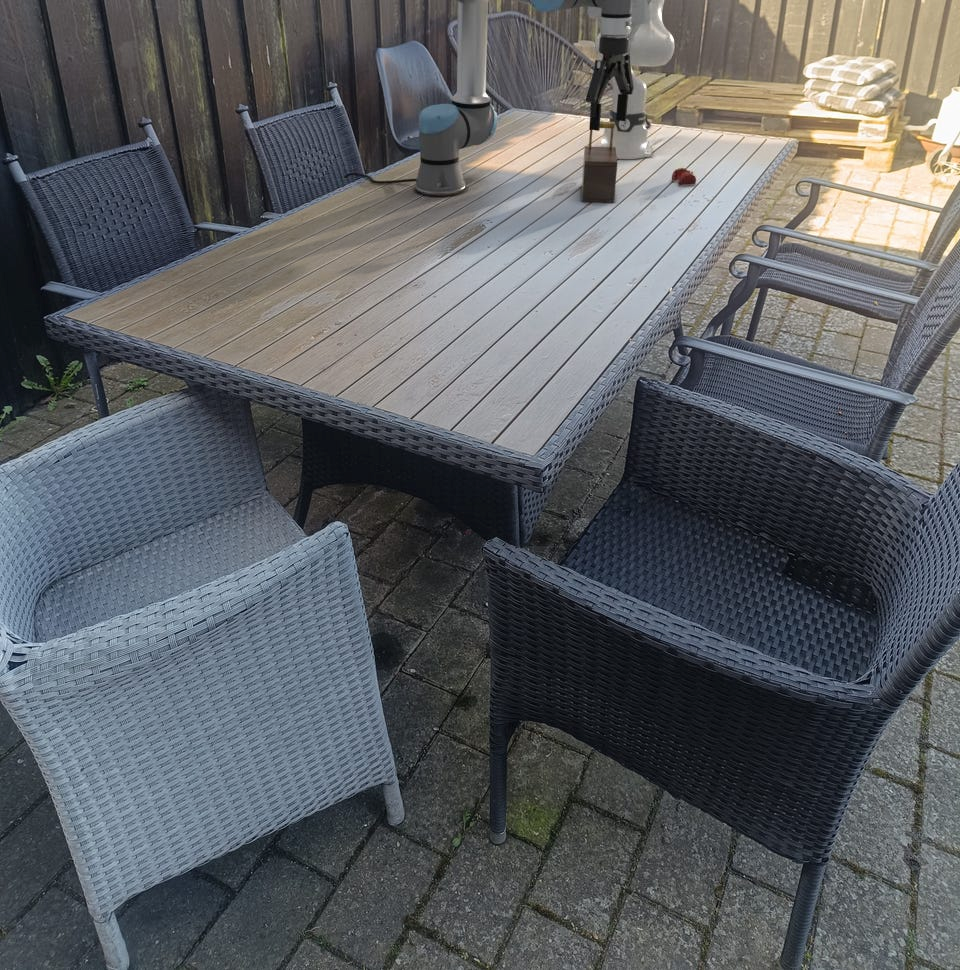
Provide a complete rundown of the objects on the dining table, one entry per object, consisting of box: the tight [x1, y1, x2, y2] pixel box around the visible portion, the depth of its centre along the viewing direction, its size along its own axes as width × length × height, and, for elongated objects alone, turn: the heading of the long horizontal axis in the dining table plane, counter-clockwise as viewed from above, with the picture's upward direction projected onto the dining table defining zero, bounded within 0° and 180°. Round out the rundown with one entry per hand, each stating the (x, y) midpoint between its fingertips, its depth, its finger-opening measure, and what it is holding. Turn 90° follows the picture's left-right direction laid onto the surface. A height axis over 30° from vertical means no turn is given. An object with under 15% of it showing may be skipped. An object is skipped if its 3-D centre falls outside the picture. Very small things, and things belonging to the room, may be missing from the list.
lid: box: [583, 121, 619, 168], centre depth 247 cm, size 17×9×9 cm, turn 174°
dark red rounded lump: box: [671, 167, 697, 186], centre depth 263 cm, size 6×4×8 cm
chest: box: [581, 158, 618, 203], centre depth 252 cm, size 16×9×10 cm, turn 174°
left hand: (607, 125), depth 225 cm, fingers open, 13 cm apart
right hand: (616, 39), depth 242 cm, fingers open, 8 cm apart
